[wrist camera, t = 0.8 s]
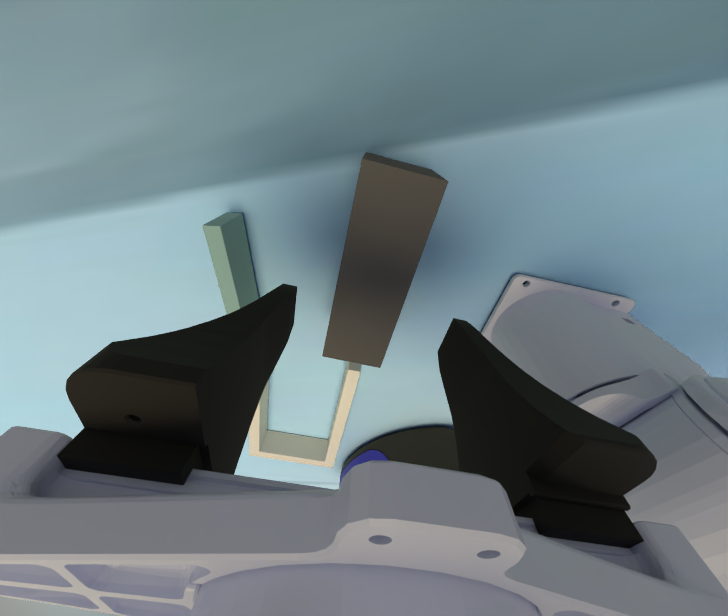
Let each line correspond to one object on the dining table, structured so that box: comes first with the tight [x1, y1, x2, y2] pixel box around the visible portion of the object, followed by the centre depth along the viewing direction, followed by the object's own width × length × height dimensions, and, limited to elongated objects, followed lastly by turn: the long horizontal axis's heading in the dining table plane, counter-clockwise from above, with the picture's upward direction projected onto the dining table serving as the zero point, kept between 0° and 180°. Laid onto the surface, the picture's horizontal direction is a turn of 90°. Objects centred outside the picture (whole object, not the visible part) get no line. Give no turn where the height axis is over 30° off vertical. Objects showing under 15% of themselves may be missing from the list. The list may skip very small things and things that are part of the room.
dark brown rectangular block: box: [322, 152, 448, 368], centre depth 18 cm, size 4×12×5 cm, turn 167°
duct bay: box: [249, 361, 361, 468], centre depth 27 cm, size 9×15×2 cm, turn 168°
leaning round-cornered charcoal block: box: [339, 427, 459, 487], centre depth 28 cm, size 16×5×9 cm, turn 128°
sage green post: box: [203, 213, 259, 314], centre depth 19 cm, size 10×1×3 cm, turn 178°
